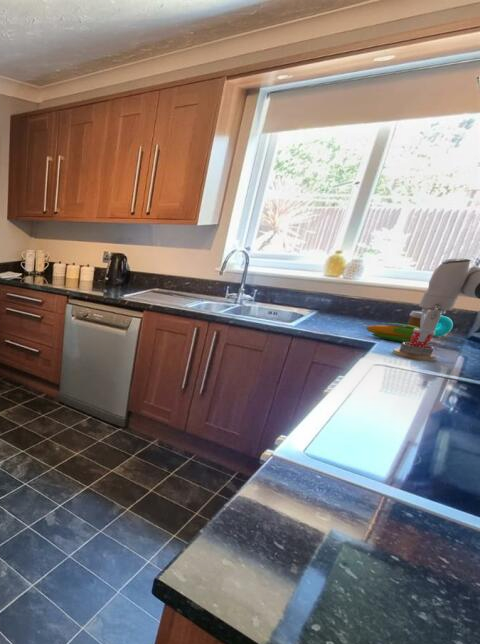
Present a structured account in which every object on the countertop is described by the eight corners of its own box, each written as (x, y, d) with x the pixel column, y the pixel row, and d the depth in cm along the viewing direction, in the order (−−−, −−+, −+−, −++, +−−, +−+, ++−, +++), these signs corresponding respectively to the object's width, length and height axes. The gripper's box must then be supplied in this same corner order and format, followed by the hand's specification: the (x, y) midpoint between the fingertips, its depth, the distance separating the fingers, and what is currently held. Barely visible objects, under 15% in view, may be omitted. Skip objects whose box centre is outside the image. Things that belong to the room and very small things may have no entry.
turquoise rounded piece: (419, 335, 199) (429, 314, 195) (410, 331, 207) (419, 311, 204) (448, 338, 195) (458, 317, 191) (437, 334, 203) (446, 313, 200)
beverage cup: (406, 349, 170) (421, 314, 165) (427, 353, 165) (443, 318, 160) (401, 351, 167) (417, 316, 162) (423, 355, 162) (439, 319, 157)
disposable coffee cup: (431, 342, 187) (444, 316, 182) (402, 339, 192) (414, 313, 187) (425, 338, 194) (436, 312, 190) (397, 334, 199) (408, 309, 195)
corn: (430, 328, 178) (368, 319, 191) (422, 346, 180) (361, 336, 194) (431, 327, 183) (370, 318, 196) (423, 344, 185) (363, 334, 199)
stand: (434, 356, 167) (439, 345, 165) (435, 363, 159) (440, 351, 157) (393, 349, 174) (397, 339, 173) (391, 355, 167) (396, 344, 165)
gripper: (450, 308, 150) (433, 345, 155) (447, 301, 163) (431, 336, 169) (425, 305, 154) (409, 341, 159) (424, 299, 167) (410, 333, 173)
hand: (420, 338), depth 164 cm, fingers open, 8 cm apart
